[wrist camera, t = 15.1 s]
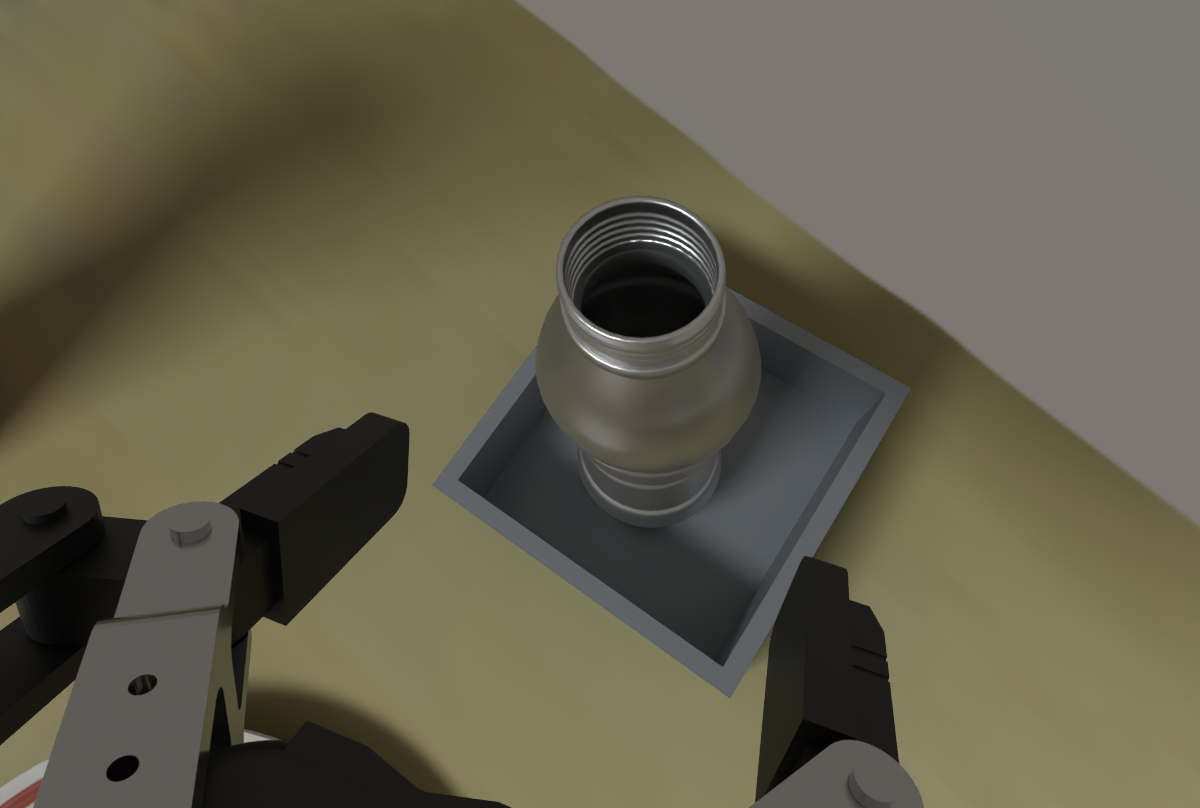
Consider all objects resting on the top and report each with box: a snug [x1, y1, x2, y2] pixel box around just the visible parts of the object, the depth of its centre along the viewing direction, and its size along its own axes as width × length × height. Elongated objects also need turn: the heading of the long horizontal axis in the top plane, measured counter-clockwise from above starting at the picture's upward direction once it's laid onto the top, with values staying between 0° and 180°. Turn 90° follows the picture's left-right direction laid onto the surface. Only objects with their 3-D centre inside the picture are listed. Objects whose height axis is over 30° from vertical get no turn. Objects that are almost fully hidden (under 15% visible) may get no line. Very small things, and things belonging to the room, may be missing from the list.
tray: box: [433, 287, 911, 698], centre depth 32 cm, size 15×15×6 cm
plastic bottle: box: [535, 196, 761, 528], centre depth 24 cm, size 6×7×20 cm
